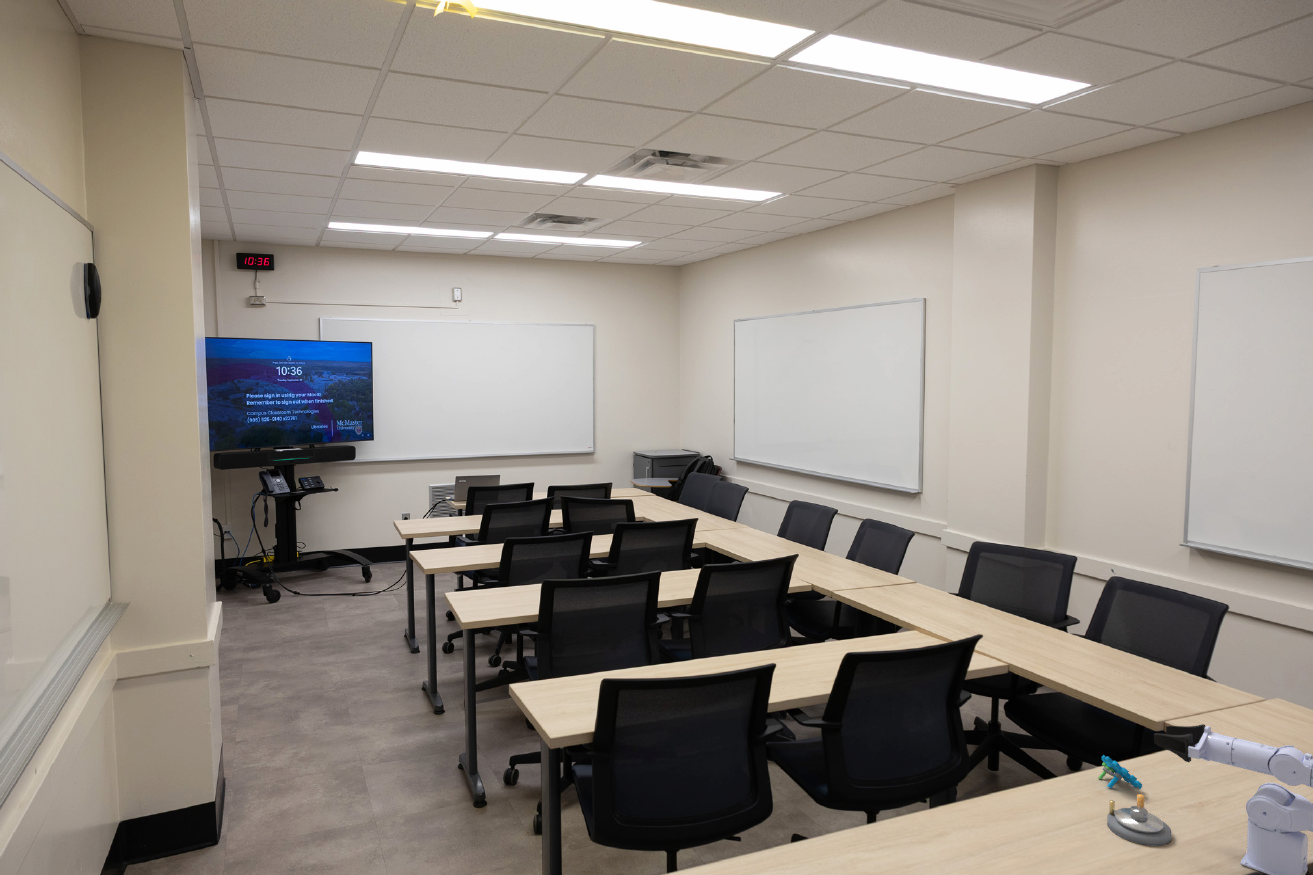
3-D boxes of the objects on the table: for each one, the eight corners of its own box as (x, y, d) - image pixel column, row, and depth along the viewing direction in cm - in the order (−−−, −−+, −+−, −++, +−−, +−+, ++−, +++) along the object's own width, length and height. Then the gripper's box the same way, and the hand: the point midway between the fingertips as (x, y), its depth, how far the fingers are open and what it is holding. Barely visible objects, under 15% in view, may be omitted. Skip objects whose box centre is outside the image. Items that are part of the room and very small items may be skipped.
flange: (1162, 837, 165) (1162, 821, 165) (1113, 824, 170) (1113, 808, 170) (1164, 815, 174) (1164, 799, 174) (1117, 803, 179) (1118, 788, 179)
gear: (1153, 790, 186) (1122, 760, 186) (1137, 809, 185) (1106, 779, 185) (1123, 774, 197) (1094, 746, 197) (1108, 792, 196) (1079, 764, 196)
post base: (1178, 831, 171) (1179, 811, 170) (1160, 852, 163) (1161, 831, 163) (1118, 810, 180) (1118, 791, 180) (1098, 829, 172) (1099, 809, 172)
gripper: (1244, 724, 167) (1171, 709, 177) (1224, 740, 157) (1148, 723, 168) (1245, 758, 166) (1172, 740, 177) (1224, 775, 157) (1149, 756, 167)
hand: (1160, 734), depth 172 cm, fingers open, 7 cm apart
